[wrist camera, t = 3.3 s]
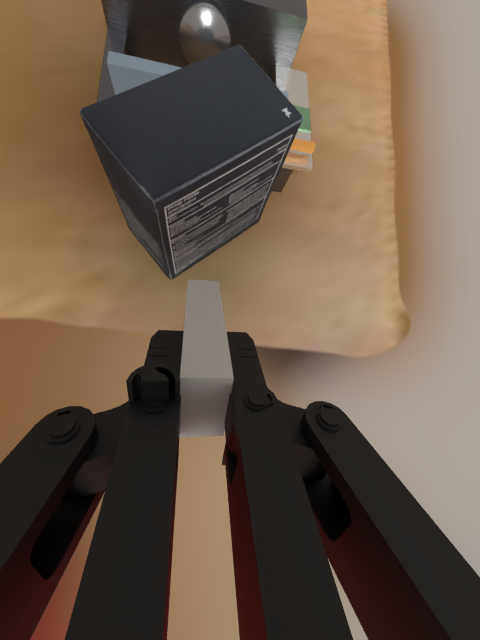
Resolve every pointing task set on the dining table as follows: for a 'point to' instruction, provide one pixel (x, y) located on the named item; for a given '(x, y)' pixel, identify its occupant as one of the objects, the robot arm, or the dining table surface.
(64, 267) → the dining table surface
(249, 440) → the robot arm
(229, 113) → the small box
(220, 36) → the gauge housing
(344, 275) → the dining table surface
